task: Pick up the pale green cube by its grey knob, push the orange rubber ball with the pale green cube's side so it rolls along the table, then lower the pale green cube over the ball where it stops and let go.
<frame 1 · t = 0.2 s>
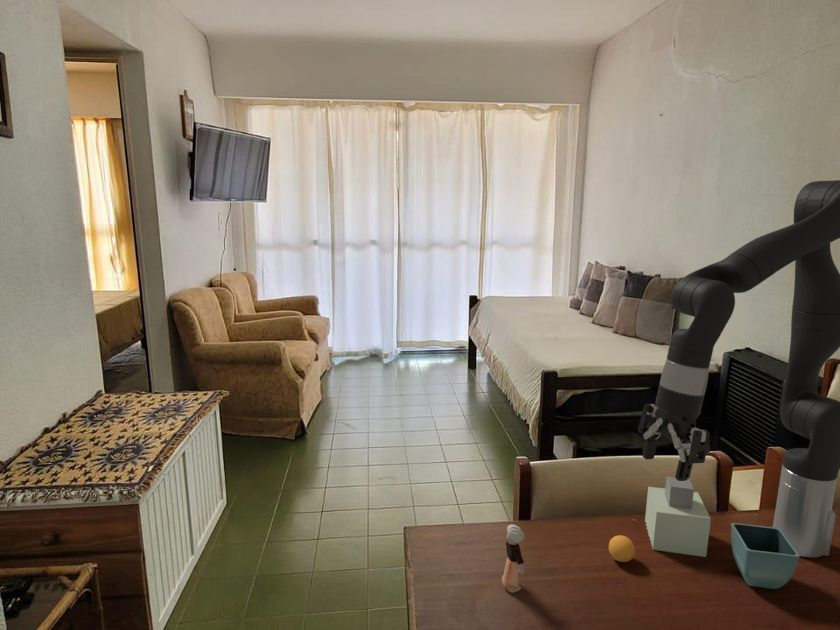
hand: (663, 468, 100), 22 cm above the table, tool pointing down, fingers open, 8 cm apart
flower pot: (757, 580, 103), on the table
pale green cube: (673, 538, 115), on the table
ball: (621, 548, 108), on the table
grandmother figurine: (511, 587, 101), on the table
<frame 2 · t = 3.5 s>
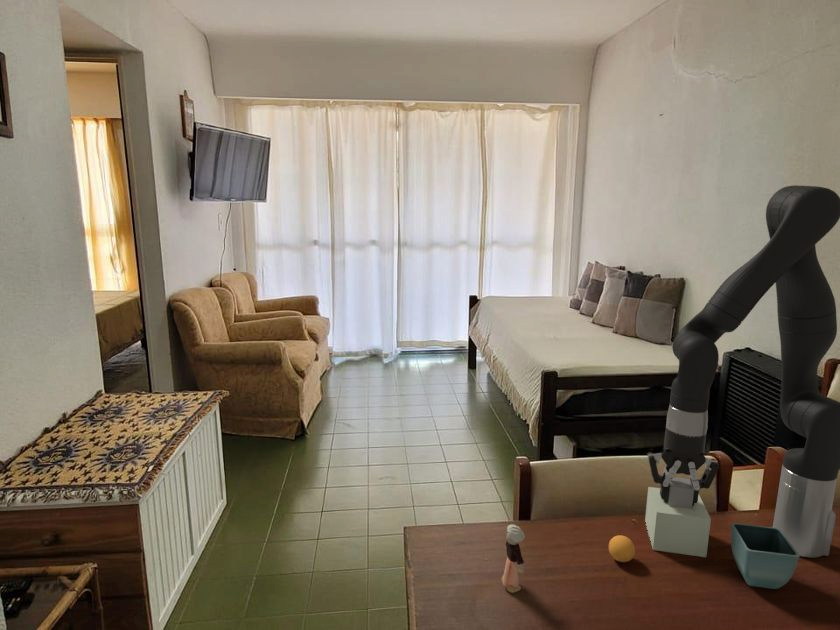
hand: (677, 501, 113), 9 cm above the table, tool pointing down, fingers closed on pale green cube, 4 cm apart
pale green cube: (673, 538, 115), on the table, touching gripper
everything else where it was.
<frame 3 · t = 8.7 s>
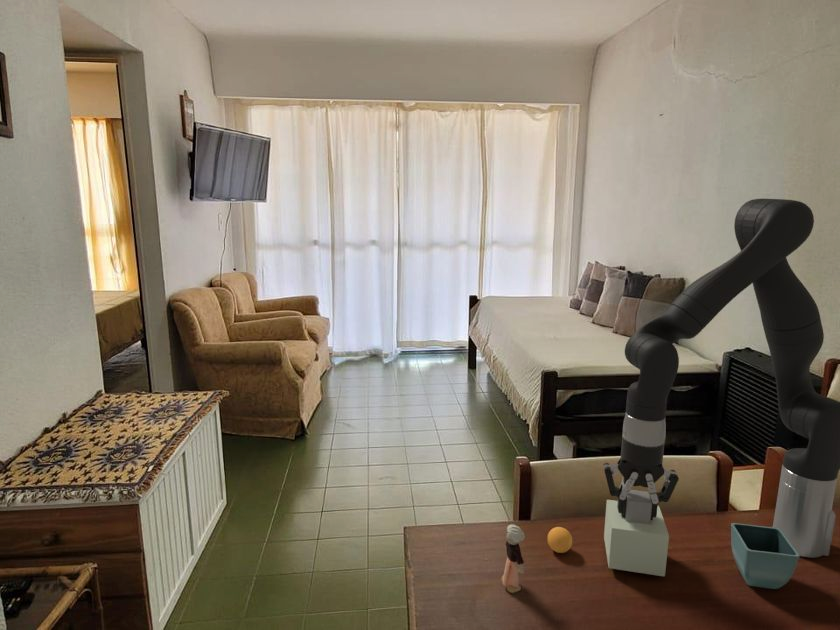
hand: (636, 515, 106), 10 cm above the table, tool pointing down, fingers closed on pale green cube, 4 cm apart
pale green cube: (632, 555, 108), point 1 cm above the table, touching gripper
ball: (559, 539, 111), on the table
everything else where it was.
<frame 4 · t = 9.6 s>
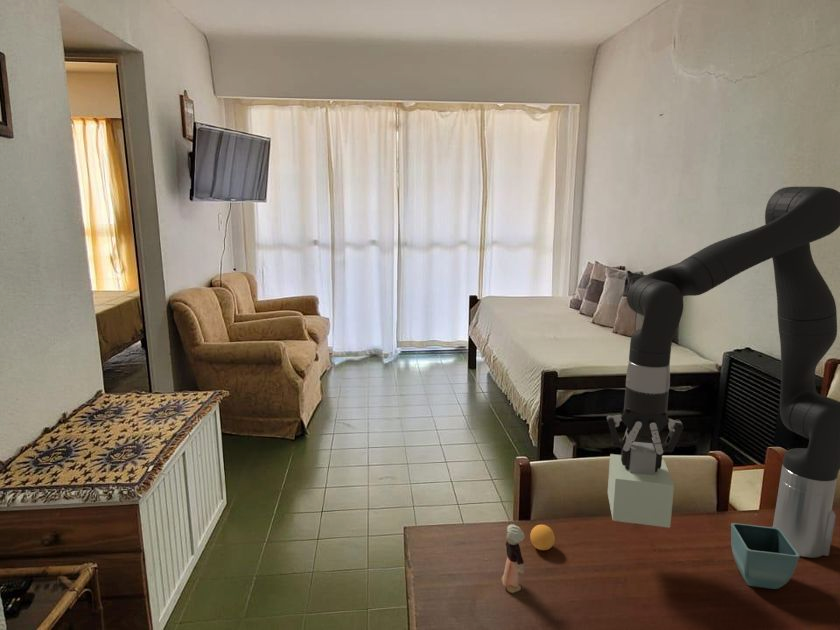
hand: (640, 467, 104), 21 cm above the table, tool pointing down, fingers closed on pale green cube, 4 cm apart
pale green cube: (637, 509, 106), point 12 cm above the table, touching gripper
ball: (542, 537, 112), on the table
everything else where it was.
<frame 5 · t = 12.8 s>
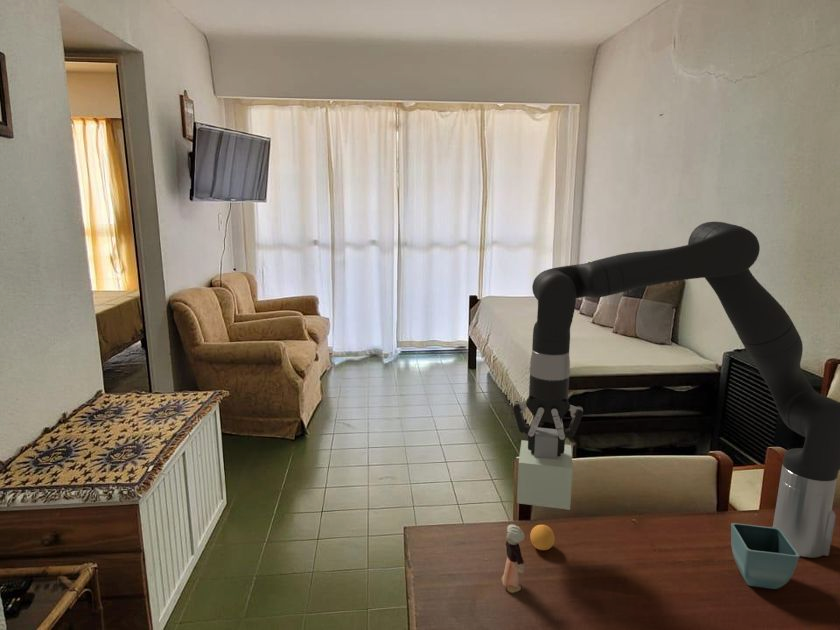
hand: (545, 452, 108), 22 cm above the table, tool pointing down, fingers closed on pale green cube, 4 cm apart
pale green cube: (543, 492, 110), point 13 cm above the table, touching gripper
everything else where it was.
when the fingers open (9 cm above the table, at t = 15.4 s): pale green cube stays where it is, on the table.
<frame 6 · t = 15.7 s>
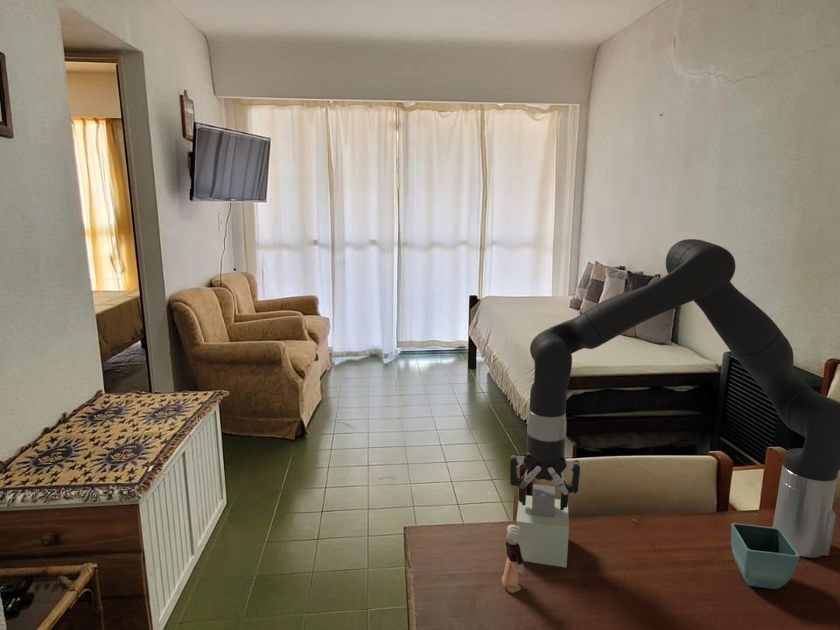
hand: (542, 505, 110), 10 cm above the table, tool pointing down, fingers open, 7 cm apart
pale green cube: (540, 547, 112), on the table
everything else where it was.
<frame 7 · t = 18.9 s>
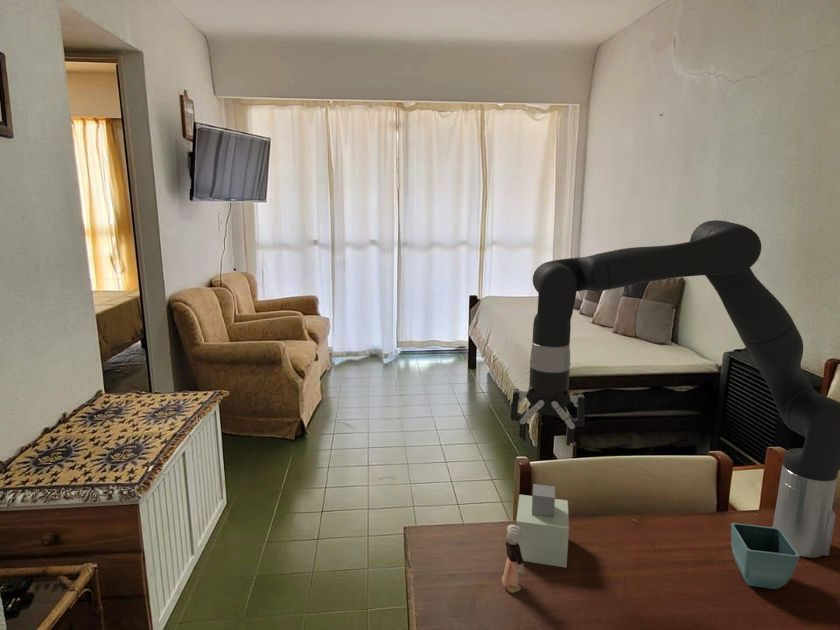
hand: (545, 441, 107), 24 cm above the table, tool pointing down, fingers open, 8 cm apart
nothing on the table moved.
at the end: ball 0.2 cm from the pale green cube (horizontally); pale green cube on the table; ball moved 15.7 cm from its start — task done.
